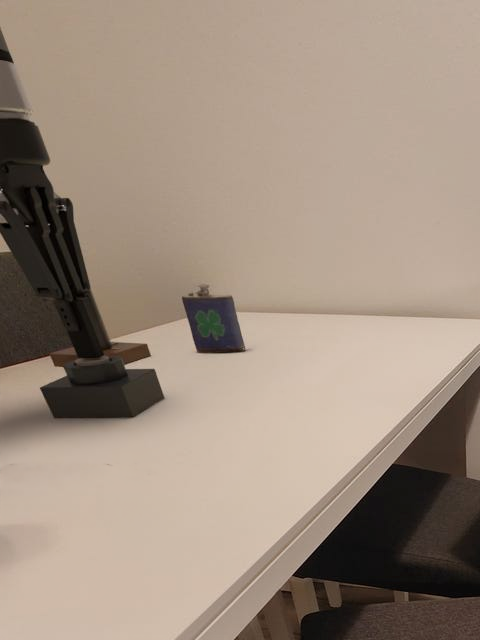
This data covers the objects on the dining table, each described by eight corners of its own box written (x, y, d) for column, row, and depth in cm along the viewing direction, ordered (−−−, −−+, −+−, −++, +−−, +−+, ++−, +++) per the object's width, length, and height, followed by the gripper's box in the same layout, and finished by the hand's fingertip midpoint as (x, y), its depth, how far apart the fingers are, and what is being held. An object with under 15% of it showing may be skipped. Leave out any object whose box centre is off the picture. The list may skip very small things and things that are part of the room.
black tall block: (98, 351, 101) (74, 289, 95) (79, 350, 102) (53, 288, 96) (118, 345, 104) (95, 285, 98) (98, 344, 105) (75, 284, 99)
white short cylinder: (75, 379, 77) (68, 362, 76) (92, 371, 80) (85, 355, 79) (104, 379, 77) (97, 362, 76) (120, 371, 80) (114, 355, 79)
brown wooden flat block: (54, 365, 102) (48, 352, 101) (99, 352, 109) (94, 339, 108) (108, 369, 99) (103, 355, 98) (151, 355, 106) (146, 342, 105)
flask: (247, 349, 109) (231, 282, 102) (241, 352, 106) (224, 284, 100) (200, 349, 110) (180, 283, 103) (193, 353, 107) (172, 285, 101)
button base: (53, 419, 78) (31, 371, 75) (91, 399, 85) (73, 354, 82) (133, 418, 78) (114, 369, 74) (164, 398, 85) (149, 353, 81)
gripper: (3, 124, 68) (91, 346, 83) (-87, 115, 58) (32, 370, 72) (64, 122, 68) (143, 345, 82) (-15, 112, 57) (90, 368, 72)
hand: (91, 356), depth 77 cm, fingers closed
